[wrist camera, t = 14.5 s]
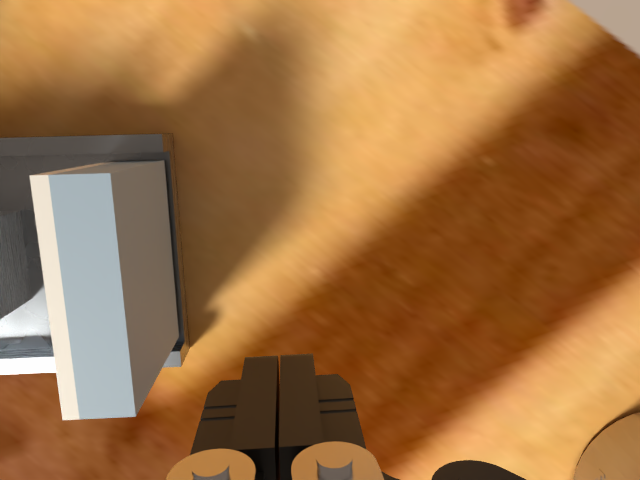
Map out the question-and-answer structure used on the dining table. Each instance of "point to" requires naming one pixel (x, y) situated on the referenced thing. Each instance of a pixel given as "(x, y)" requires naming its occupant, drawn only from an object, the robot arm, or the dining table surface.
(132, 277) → the block
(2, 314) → the steel block
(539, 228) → the dining table surface
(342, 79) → the dining table surface
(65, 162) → the vise
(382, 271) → the dining table surface
